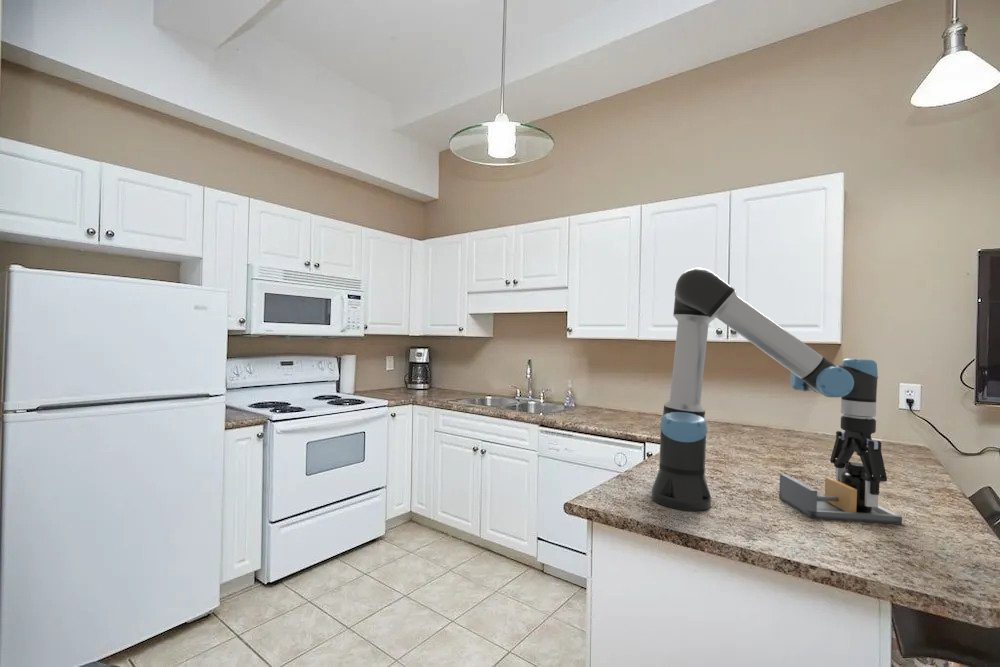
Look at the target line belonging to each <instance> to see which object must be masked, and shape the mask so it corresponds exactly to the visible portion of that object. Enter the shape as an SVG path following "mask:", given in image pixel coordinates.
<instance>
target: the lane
mask: <svg viewBox="0 0 1000 667" xmlns="http://www.w3.org/2000/svg"><path fill="white" fill-rule="evenodd" d="M778 494H779V495H778V498H779V499H780V500H781V501H783V502H784V503H785V504H787V505H789V506H790V507H792V508H794V509H795V510H797V511H799V512H800V513H801V514H803V515H805V516H806V517H808V518H809V519H817V520H818V519H819V520H831V521H833V520H834V521H835V520H836V521H848V522H849V521H850V522H865V523H866V522H867V523H868V522H869V523H879V524H881V523H882V524H896V525H897V524H899V525H902V524H903V516H902V515H899V514H897V513H895V512H893V511H891V510H889V509H887V508H885V507H883V506H880V505H879V504H878V507H872V511H871V512H869V513H860V512H845V511H843V510H841V509H840V508H838V507H836V506H834V505H832V504H831V503H829V502H827V501H822V500H817V496H825V494H819V493H818V490H816V489H814V488H813V487H811V486H809V485H807V484H805V483H803V482H801V481H800V480H798V479H795V478H794V477H792V476H791V475H788V474H786V473H779V492H778Z"/></svg>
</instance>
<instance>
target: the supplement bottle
mask: <svg viewBox="0 0 1000 667" xmlns="http://www.w3.org/2000/svg"><path fill="white" fill-rule="evenodd" d="M845 470H846V472H843V473H842V474H841V476H840V482H842V483H844V484H846V485H848V486H850V487H852V488H855V489H857V506H856V512H860V513H869V512H871V511H872V507H867V506H865V479H867V478H868V477H867V474H866V472H865V469H864V466H863V463H862V462H861V463H860V462H854V461H853V462H852V461H849V462H846V463H845Z"/></svg>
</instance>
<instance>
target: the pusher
mask: <svg viewBox="0 0 1000 667" xmlns="http://www.w3.org/2000/svg"><path fill="white" fill-rule="evenodd" d="M824 495H825V496H817V500H822V501H827V502H829V503H831V504H832V505H834V506H836V507H838V508H840V509H841V510H843V511H845V512H856V506H857V489H855V488H852V487H850V486H848V485H846V484H844V483H842V482H839V481H837V480H836V478H833V477H829V476H828V477H827V476H825V477H824Z"/></svg>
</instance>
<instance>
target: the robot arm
mask: <svg viewBox="0 0 1000 667" xmlns="http://www.w3.org/2000/svg"><path fill="white" fill-rule="evenodd" d="M672 315H673V317H674V318H675V320H677V326H676V337H675V345H674V346H675V347H674V348H675V349H674V356H673V357H674V358H673V364H672V365H673V367H672V376H671V385H670V393H669V394H670V397H669V399H668V401H666V402H665V403H664V404H663V412H662V416H661V419H660V424H659V429H660V439H659V465H658V472H657V475H656V477H655V480H654V482H653V485H652V488H651V498H652V500H653V501H654V502H656V503H657V504H659V505H662V506H664V507H668V508H671V509H676V510H682V511H689V512H690V511H692V512H693V511H694V512H695V511H696V512H698V511H706V510H708V509H710V508H711V506H712V496H711V494H710V493H711V492H710V489H709V486H708V483H707V480H706V452H707V449H706V447H707V435H708V434H707V433H708V428H707V422H706V419H705V417H706V409H705V408H704V407H703V406H702V404H701V399H702V392H703V391H702V390H703V382H704V381H703V380H704V374H705V373H704V371H705V361H706V354H707V352H706V351H707V344H708V343H707V342H708V333H709V332H708V331H709V324H710V323H711V322H713V321H714V320H715V319H717V320H719V321H721V322H722V323H723V324H725V325H726V326H727V327H729V328H730V329H732V330H733V331H734V332H735V333H737V334H739V335H740V336H741V337H742V338H744V339H746V340H747V341H748V342H750V344H752V345H754V346H755V347H756V348H758V349H759V350H760V351H762V352H763V353H765V354H766V355H768V356H769V357H770V358H772V359H773V360H774V361H776V362H777V363H779V365H781V366H782V367H784V368H785V369H787V370H789V371H790V375H789V376H790V377H789V380H790V387H791V388H792V389H793V390H795V391H802V392H813V393H816V394H820V395H822V396H824V397H827V398H841V399H840V413H841V414H842V415H841V416H840V429H841V431H840V430H838V431H836V433H835V441H834V445H833V449H832V453H831V457H830V458H829V461H830V462H829V463H831V464H833V466H834V467H835V480H837V481H839V482H840V476H841V474H842V473H843V472H846V470H845V463H846V462H850V460H851V458H852V457H853V455H854V453H855V452H856V454H857V456H859V458H860V460H861V464H863V466H864V469H865V472H866V474H867V477H868V478H867V479H865V506H867V507H878V505H879V495H880V483H881V482H885V483H886V482H888V478H887V472H886V469H885V468H886V467H885V462H884V458H883V454H882V453H883V452H882V442H881V441H880V440H874V439H872V435H873V434H875V433H876V432H877V420H876V419H875V417H876V416H877V392H878V379H879V376H878V364H877V361H875V360H873V359H864V358H844V359H843V360H842V363H841V364H839V365H836V364H835V363H833V362H831V361H830V360H828V358H825V357H824V356H823V355H822V354H820V353H818V352H817V351H816V350H814V349H813V348H811V346H808V344H806V343H804V341H801V340H800V339H799V338H797V336H795V335H793V334H792V333H790V332H788V331H787V330H786V329H785V328H783V327H782V326H781V325H779V324H777V323H776V322H774V320H772V319H770V318H769V317H767V316H766V315H765V314H763V313H762V312H760V311H759V310H758V309H756V308H755V307H754V306H752V305H751V304H750V303H748V302H747V301H745V300H743V299H742V298H741V297H739V296H738V295H737V290H736V289H735V288H734V287H732V286H731V285H729V284H728V282H726V281H725V280H723V279H722V278H720V277H719V276H718V275H717V274H716V273H714V272H713V271H711V270H709V269H707V268H703V267H695V268H691V269H687V270H686V271H684V272H683V273H682V274H681V275H680V276H679V278H678V279H677V280H676V284H675V289H674V305H673V314H672Z"/></svg>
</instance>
